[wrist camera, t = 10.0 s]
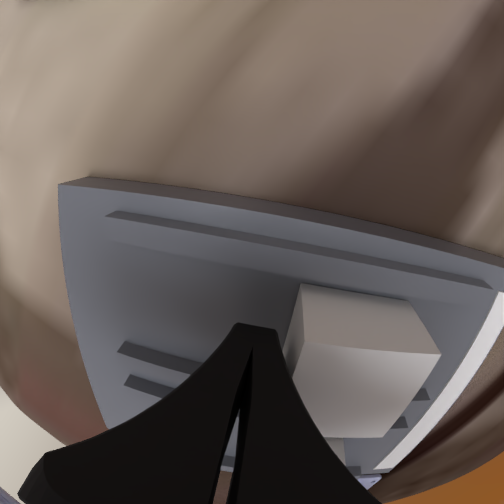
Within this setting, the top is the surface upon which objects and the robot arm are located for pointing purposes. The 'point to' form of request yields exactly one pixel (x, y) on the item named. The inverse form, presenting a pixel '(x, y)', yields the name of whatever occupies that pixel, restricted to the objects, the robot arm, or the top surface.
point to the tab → (356, 359)
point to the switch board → (255, 293)
